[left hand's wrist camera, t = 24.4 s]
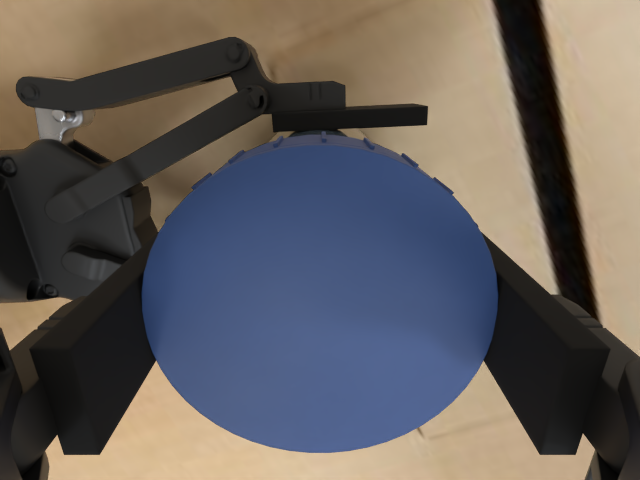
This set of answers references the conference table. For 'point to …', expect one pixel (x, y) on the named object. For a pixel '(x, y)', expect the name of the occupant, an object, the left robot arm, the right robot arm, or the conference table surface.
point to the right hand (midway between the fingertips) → (414, 210)
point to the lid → (319, 295)
